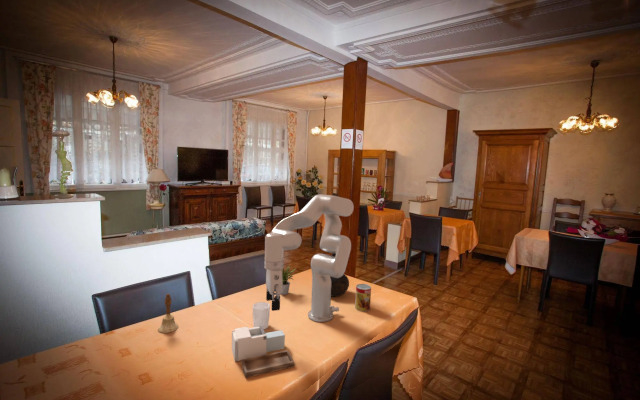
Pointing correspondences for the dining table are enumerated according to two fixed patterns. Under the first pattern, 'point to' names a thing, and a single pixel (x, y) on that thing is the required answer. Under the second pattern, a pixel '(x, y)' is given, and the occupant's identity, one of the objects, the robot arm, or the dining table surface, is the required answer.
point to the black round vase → (339, 284)
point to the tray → (267, 363)
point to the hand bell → (168, 318)
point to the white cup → (261, 314)
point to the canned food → (363, 297)
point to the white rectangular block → (274, 340)
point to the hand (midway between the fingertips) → (272, 304)
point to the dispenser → (248, 342)
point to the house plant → (286, 283)
